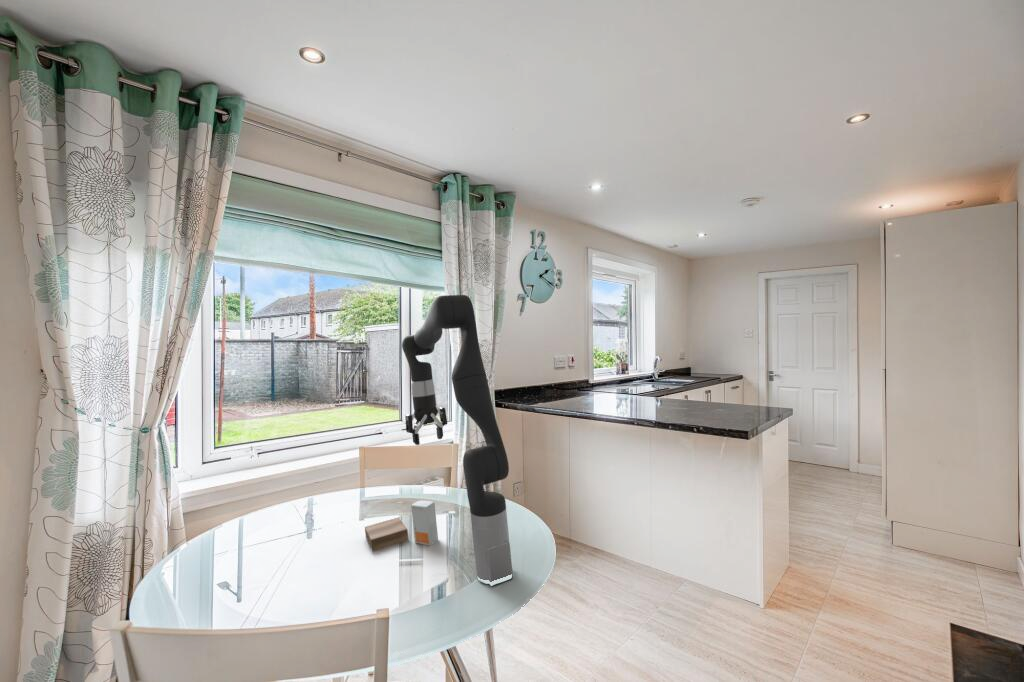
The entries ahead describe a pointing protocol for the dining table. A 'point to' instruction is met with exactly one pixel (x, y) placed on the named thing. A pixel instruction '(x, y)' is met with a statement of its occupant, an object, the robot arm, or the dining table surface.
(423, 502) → the skincare box
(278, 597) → the dining table surface
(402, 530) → the walnut block
